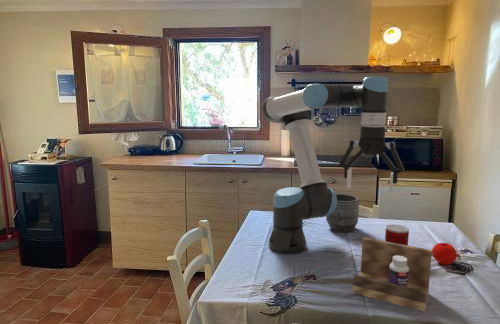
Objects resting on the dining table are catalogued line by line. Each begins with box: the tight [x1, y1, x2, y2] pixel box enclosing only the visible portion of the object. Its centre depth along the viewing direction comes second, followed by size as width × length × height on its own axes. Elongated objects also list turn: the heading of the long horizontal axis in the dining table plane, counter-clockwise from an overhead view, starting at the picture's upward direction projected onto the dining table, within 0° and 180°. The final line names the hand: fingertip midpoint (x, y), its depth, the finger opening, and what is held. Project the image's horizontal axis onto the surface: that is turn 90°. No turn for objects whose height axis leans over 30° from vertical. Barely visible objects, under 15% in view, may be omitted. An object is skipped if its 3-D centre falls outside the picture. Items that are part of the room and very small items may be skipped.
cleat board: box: [352, 236, 433, 312], centre depth 107 cm, size 20×11×14 cm, turn 59°
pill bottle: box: [388, 255, 409, 287], centre depth 105 cm, size 5×5×10 cm
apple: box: [431, 242, 458, 266], centre depth 127 cm, size 8×8×7 cm
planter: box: [325, 193, 360, 233], centre depth 161 cm, size 14×14×15 cm
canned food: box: [384, 224, 410, 246], centre depth 133 cm, size 8×8×11 cm
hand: (369, 190), depth 117 cm, fingers open, 13 cm apart
